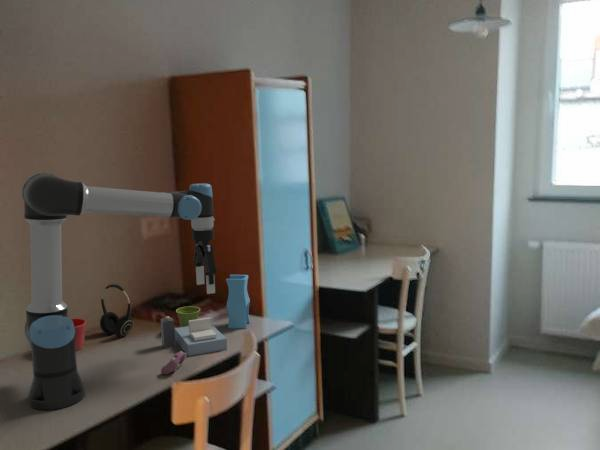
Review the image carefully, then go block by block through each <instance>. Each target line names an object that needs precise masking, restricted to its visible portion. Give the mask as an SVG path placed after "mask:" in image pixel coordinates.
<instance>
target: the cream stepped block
mask: <svg viewBox="0 0 600 450" xmlns="http://www.w3.org/2000/svg"><path fill="white" fill-rule="evenodd" d="M211 324H212V318H211V317H205V318H204V317H203V318H198V319H195V320H189V335H190V336H191V337H192V338H193V339H194V340H195V341H198V340H204V339H210V338H217V334H216V333H215V332H214V331H213V330H212V329H211Z"/></svg>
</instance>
